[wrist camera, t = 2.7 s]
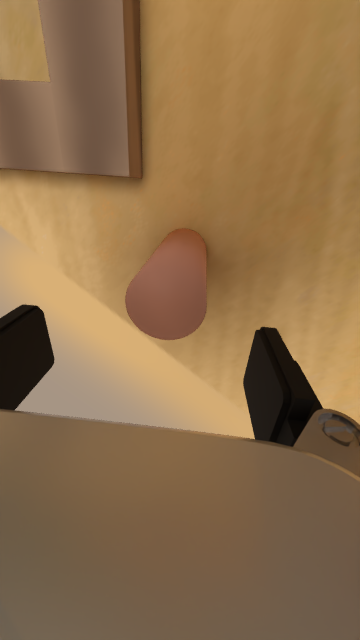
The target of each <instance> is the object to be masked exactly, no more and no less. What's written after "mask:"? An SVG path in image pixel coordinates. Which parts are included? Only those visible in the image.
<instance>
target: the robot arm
mask: <svg viewBox="0 0 360 640" xmlns="http://www.w3.org/2000/svg"><path fill="white" fill-rule="evenodd" d="M53 364H54V355H53V351H52V347H51V342H50V338H49V334H48V330H47V325H46V321H45V317H44V313H43V311H42V310H41V309H40V308H39V307H38V306H34V305H21V306H19V307H18V308H16V309H14V310H13V311H11V312H9V313H8V314H6V315H5V316H3V317H2V318H0V640H360V425H359V424H358V423H357V422H356V421H355V420H353V419H352V418H350V417H349V416H347V415H345V414H343V413H341V412H339V411H335V410H332V409H323V407H322V405H321V404H320V402H319V400H318V398H317V396H316V395H315V393H314V391H313V389H312V388H311V386H310V384H309V382H308V380H307V379H306V377H305V375H304V373H303V372H302V370H301V368H300V366H299V364H298V363H297V362H296V361H294V360H293V358H292V356H291V354H290V353H289V351H288V349H287V347H286V345H285V343H284V342H283V340H282V338H281V336H280V334H279V332H278V331H277V329H276V328H269V327H261V329H260V330H256V332H255V335H254V339H253V343H252V347H251V351H250V355H249V359H248V363H247V367H246V371H245V375H244V381H243V384H244V390H245V395H246V399H247V404H248V409H249V413H250V418H251V423H252V427H253V432H254V436H255V439H250V438H242V437H236V436H229V435H221V434H213V433H206V432H198V431H190V430H181V429H173V428H164V427H156V426H148V425H138V424H130V423H122V422H112V421H104V420H95V419H86V418H78V417H69V416H60V415H51V414H42V413H33V412H24V411H14V410H15V409H16V408H17V407H18V405H19V404H20V403H21V402H22V401H23V400H24V399H25V397H26V396H27V395H28V394H29V392H30V391H31V390H32V389H33V388H34V387H35V386H36V385H37V383H38V382H39V381H40V380H41V379H42V378H43V376H44V375H45V374H46V373H47V372H48V371H49V370H50V368H51V367H52V366H53Z"/></svg>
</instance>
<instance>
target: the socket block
mask: <svg viewBox="0 0 360 640" xmlns="http://www.w3.org/2000/svg"><path fill="white" fill-rule="evenodd" d="M38 4H39V10H40V17H41V23H42V30H43V36H44V43H45V50H46V56H47V63H48V69H49V76H50V82H40V81H19V80H0V168H3V169H17V170H32V171H46V172H61V173H75V174H90V175H104V176H118V177H133V178H142V128H141V62H140V0H38Z"/></svg>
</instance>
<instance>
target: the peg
mask: <svg viewBox="0 0 360 640" xmlns="http://www.w3.org/2000/svg"><path fill="white" fill-rule="evenodd" d="M125 302H126V308H127V312H128V314H129V316H130V318H131V320H132V321H133V323H134V324H135V325H136V326H137V327H138V328H139V329H140V330H141V331H143V332H144V333H146V334H148V335H150V336H152V337H155V338H158V339H163V340H175V339H180V338H183V337H185V336H188V335H189V334H191V333H193V332H194V331H195V330H196V329H197V328H198V327H199V326H200V324H201V323H202V321H203V319H204V317H205V314H206V305H207V304H206V245H205V242H204V240H203V239H202V237H201V236H200V235H199V234H198V233H196V232H195V231H193V230H190V229H185V228H182V229H177V230H174V231H172V232H171V233H170V234H168V236H167V237H166V238H165V239H164V240H163V242H162V243H161V244H160V245H159V247H158V248H157V249H156V251H155V252H154V253H153V254H152V256H151V257H150V258H149V259H148V261H147V262H146V263H145V264H144V266H143V267H142V268H141V270H140V271H139V272H138V273H137V275H136V276H135V277H134V278H133V280H132V281H131V283H130V284H129V286H128V289H127V292H126V299H125Z"/></svg>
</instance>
